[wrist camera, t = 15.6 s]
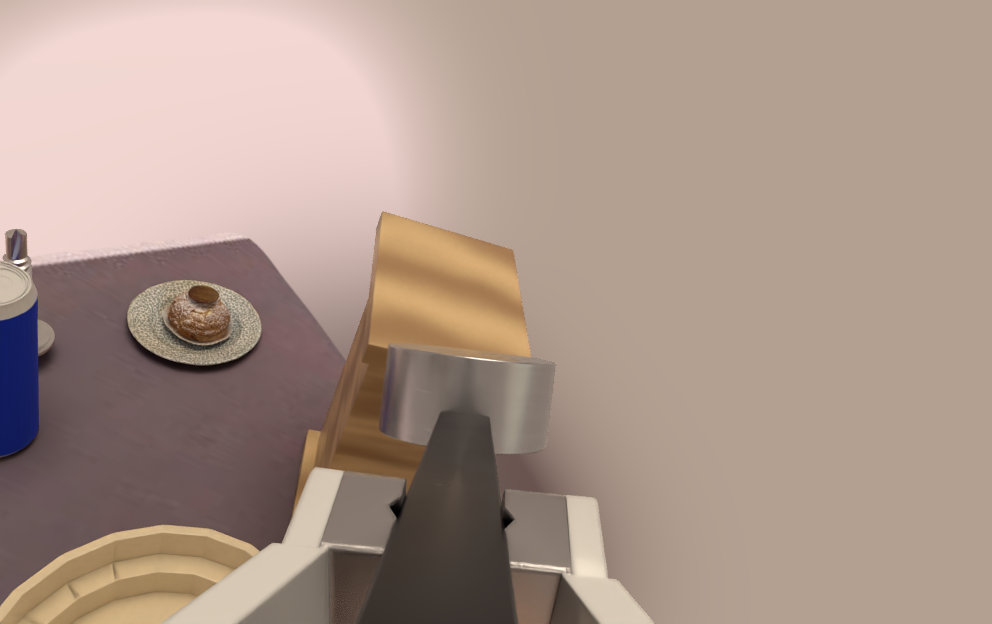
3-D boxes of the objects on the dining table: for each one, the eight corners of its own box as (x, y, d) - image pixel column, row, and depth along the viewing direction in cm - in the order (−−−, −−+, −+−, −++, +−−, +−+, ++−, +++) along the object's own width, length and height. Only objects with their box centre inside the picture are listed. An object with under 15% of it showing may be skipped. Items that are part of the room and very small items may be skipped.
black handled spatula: (389, 415, 27) (398, 340, 27) (538, 432, 27) (546, 358, 27) (27, 802, 5) (76, 416, 5) (788, 877, 5) (826, 501, 5)
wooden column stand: (407, 598, 54) (536, 383, 40) (278, 582, 51) (368, 343, 37) (411, 457, 65) (513, 249, 50) (305, 437, 62) (382, 210, 48)
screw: (-30, 365, 54) (5, 328, 58) (35, 382, 56) (65, 343, 59) (-42, 235, 47) (-2, 202, 51) (34, 257, 48) (67, 223, 52)
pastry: (157, 387, 60) (162, 350, 57) (106, 299, 65) (108, 262, 62) (281, 355, 68) (290, 321, 65) (226, 279, 73) (233, 245, 71)
